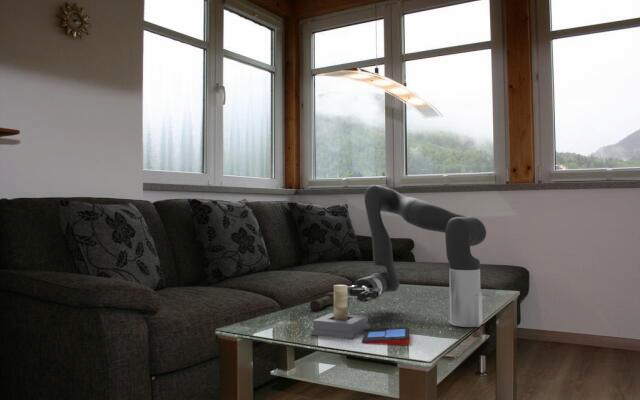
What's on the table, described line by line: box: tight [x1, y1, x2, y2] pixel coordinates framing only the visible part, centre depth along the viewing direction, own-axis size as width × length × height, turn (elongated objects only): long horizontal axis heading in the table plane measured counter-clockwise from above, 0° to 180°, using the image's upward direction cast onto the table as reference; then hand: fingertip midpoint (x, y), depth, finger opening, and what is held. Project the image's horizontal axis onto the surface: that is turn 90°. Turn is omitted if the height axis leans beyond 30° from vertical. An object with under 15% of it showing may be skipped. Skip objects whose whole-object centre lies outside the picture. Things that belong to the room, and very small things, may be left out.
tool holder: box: [310, 312, 371, 340], centre depth 154 cm, size 13×13×4 cm
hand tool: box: [309, 291, 334, 312], centre depth 195 cm, size 19×4×5 cm, turn 154°
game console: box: [361, 326, 410, 346], centre depth 146 cm, size 14×13×2 cm
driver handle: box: [333, 284, 349, 321], centre depth 154 cm, size 4×4×12 cm
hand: (348, 295), depth 159 cm, fingers open, 8 cm apart
